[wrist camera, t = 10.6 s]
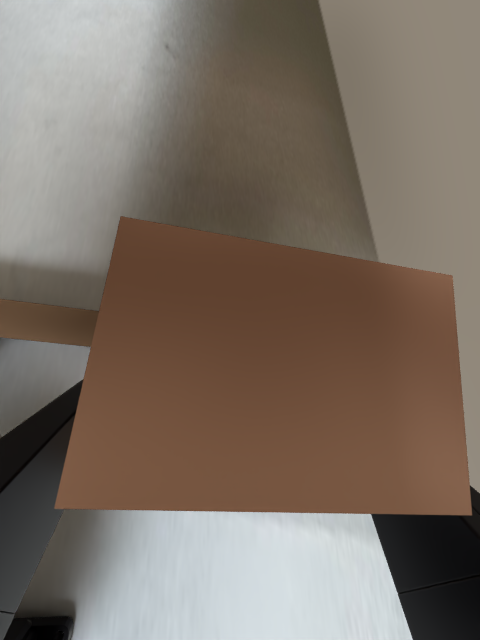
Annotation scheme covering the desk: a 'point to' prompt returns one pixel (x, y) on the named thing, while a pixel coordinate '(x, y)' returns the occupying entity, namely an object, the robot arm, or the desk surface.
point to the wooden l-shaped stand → (259, 381)
